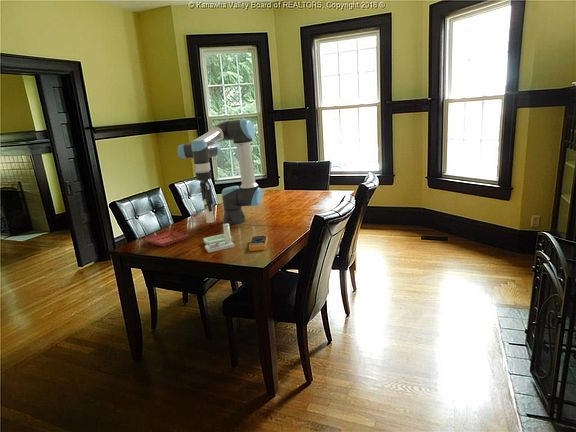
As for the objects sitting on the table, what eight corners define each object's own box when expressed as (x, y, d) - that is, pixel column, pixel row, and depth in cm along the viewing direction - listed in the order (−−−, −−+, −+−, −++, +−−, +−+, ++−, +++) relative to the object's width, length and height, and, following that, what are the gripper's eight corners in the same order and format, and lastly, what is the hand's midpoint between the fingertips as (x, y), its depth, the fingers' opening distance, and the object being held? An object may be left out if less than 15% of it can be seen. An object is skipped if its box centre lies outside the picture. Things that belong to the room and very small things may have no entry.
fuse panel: (230, 242, 206) (229, 239, 206) (234, 246, 199) (234, 243, 199) (205, 248, 201) (204, 245, 200) (208, 252, 194) (208, 249, 193)
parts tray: (227, 237, 217) (227, 233, 216) (233, 241, 208) (232, 237, 207) (203, 242, 211) (203, 238, 210) (208, 247, 202) (207, 242, 202)
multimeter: (268, 239, 207) (267, 233, 206) (266, 251, 190) (265, 244, 189) (252, 240, 207) (251, 235, 206) (249, 252, 190) (248, 245, 189)
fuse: (230, 244, 204) (228, 223, 201) (232, 245, 201) (229, 224, 198) (224, 245, 203) (222, 224, 200) (226, 247, 200) (223, 225, 197)
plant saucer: (172, 235, 231) (171, 230, 231) (189, 239, 220) (189, 234, 219) (145, 244, 218) (144, 239, 217) (162, 249, 207) (161, 243, 206)
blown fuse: (213, 220, 198) (210, 198, 194) (215, 221, 194) (212, 199, 191) (205, 221, 196) (202, 199, 193) (207, 223, 192) (204, 200, 189)
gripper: (192, 171, 194) (198, 214, 200) (199, 174, 179) (206, 221, 185) (206, 169, 197) (212, 211, 203) (214, 172, 182) (221, 218, 188)
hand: (209, 216), depth 194 cm, fingers closed on blown fuse, 4 cm apart
